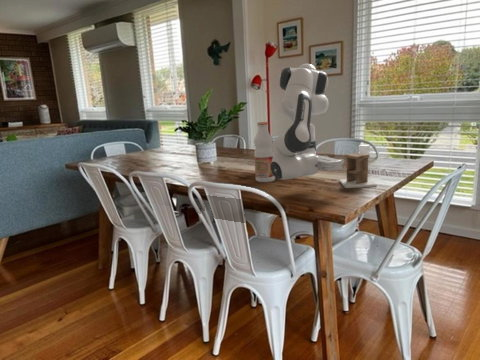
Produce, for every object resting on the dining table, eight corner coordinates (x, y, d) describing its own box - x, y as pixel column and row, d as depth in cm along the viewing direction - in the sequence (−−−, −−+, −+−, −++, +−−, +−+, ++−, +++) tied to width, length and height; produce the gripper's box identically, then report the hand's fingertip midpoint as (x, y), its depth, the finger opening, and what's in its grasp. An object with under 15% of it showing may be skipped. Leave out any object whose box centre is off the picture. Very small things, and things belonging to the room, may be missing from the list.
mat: (345, 188, 154) (345, 185, 154) (339, 181, 166) (339, 179, 166) (376, 186, 153) (376, 184, 153) (368, 179, 165) (368, 177, 165)
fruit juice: (253, 179, 180) (250, 122, 174) (271, 177, 182) (269, 121, 176) (258, 183, 171) (255, 123, 165) (277, 181, 173) (275, 122, 167)
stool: (356, 184, 155) (357, 156, 152) (345, 181, 161) (345, 154, 158) (368, 181, 158) (369, 154, 155) (357, 178, 164) (357, 152, 161)
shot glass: (356, 155, 225) (356, 144, 223) (367, 155, 225) (367, 143, 223) (361, 157, 218) (361, 146, 216) (372, 156, 218) (372, 145, 217)
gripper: (325, 160, 136) (353, 155, 142) (293, 153, 154) (319, 148, 160) (325, 176, 138) (353, 170, 144) (294, 167, 156) (319, 162, 162)
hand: (335, 159), depth 152 cm, fingers open, 8 cm apart
